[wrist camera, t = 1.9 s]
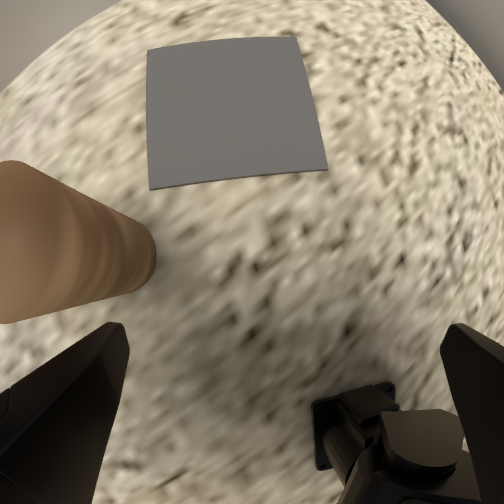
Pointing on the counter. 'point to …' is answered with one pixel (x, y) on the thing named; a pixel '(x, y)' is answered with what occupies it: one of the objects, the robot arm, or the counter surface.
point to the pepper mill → (63, 246)
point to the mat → (229, 112)
